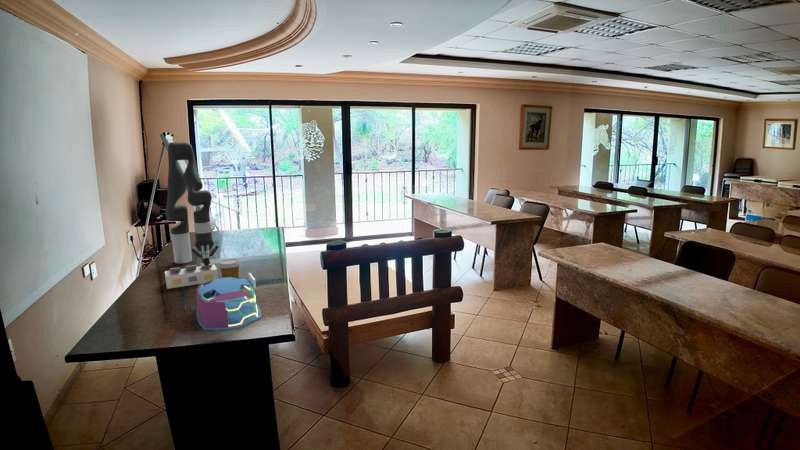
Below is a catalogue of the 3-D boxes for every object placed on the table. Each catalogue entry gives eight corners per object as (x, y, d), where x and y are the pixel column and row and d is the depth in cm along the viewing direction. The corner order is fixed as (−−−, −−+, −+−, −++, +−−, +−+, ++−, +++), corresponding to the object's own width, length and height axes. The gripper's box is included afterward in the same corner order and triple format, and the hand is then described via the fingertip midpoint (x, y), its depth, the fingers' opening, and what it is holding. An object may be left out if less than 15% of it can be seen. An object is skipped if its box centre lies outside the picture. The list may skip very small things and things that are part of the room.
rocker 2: (185, 268, 219) (185, 266, 219) (195, 267, 221) (194, 264, 221) (186, 269, 212) (186, 266, 212) (196, 268, 214) (196, 265, 214)
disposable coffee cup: (245, 282, 216) (243, 259, 214) (232, 289, 208) (230, 265, 205) (229, 280, 219) (227, 257, 217) (216, 287, 211) (214, 263, 208)
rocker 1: (169, 270, 216) (169, 268, 216) (179, 269, 218) (179, 266, 218) (170, 271, 209) (169, 269, 209) (180, 270, 211) (180, 267, 211)
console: (166, 282, 217) (164, 269, 216) (215, 275, 228) (214, 262, 227) (167, 289, 208) (165, 275, 207) (218, 280, 220) (217, 267, 218)
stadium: (192, 304, 189) (189, 273, 186) (250, 294, 201) (247, 265, 198) (201, 336, 160) (197, 299, 157) (268, 322, 171) (265, 287, 168)
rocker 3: (200, 265, 223) (200, 262, 222) (209, 264, 225) (209, 261, 225) (202, 268, 216) (201, 266, 216) (211, 267, 218) (211, 264, 218)
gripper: (216, 228, 220) (219, 261, 224) (187, 231, 214) (191, 265, 217) (218, 230, 214) (221, 264, 217) (189, 234, 208) (192, 269, 211)
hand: (206, 265), depth 217 cm, fingers closed
